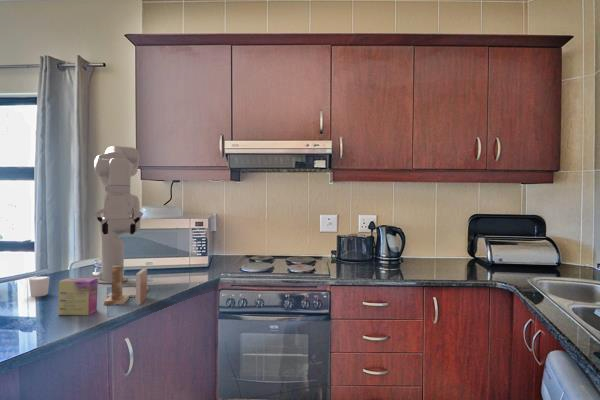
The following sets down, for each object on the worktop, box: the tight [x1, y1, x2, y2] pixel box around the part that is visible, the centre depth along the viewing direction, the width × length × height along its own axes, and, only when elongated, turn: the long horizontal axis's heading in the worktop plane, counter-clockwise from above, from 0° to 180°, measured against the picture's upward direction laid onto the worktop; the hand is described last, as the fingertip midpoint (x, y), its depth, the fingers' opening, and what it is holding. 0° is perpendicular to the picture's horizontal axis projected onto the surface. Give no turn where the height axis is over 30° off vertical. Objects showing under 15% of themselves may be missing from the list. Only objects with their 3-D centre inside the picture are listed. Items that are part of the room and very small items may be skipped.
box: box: [57, 277, 99, 316], centre depth 124 cm, size 10×6×12 cm, turn 92°
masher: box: [103, 265, 130, 306], centre depth 138 cm, size 7×7×14 cm
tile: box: [135, 267, 148, 305], centre depth 139 cm, size 2×10×12 cm, turn 10°
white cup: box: [28, 275, 51, 298], centre depth 145 cm, size 7×7×7 cm
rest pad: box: [106, 286, 150, 299], centre depth 150 cm, size 13×13×1 cm
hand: (119, 234), depth 138 cm, fingers open, 9 cm apart
